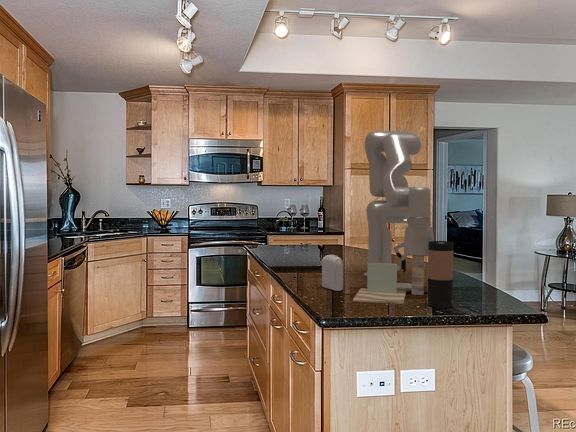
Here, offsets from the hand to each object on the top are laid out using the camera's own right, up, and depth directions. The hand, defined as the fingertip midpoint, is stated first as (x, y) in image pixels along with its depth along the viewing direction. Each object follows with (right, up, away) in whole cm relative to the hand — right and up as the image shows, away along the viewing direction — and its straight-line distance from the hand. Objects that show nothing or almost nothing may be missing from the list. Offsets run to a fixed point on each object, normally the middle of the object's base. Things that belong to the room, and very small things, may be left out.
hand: (418, 272), depth 186 cm
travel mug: (+2, -9, -18) cm, 21 cm away
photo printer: (-29, -7, +10) cm, 32 cm away
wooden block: (0, -8, +1) cm, 8 cm away
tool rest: (-3, -7, +12) cm, 14 cm away
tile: (-13, -2, 0) cm, 13 cm away
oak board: (-14, -8, -5) cm, 17 cm away
